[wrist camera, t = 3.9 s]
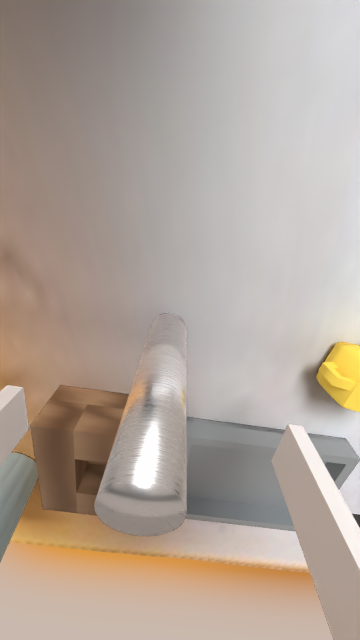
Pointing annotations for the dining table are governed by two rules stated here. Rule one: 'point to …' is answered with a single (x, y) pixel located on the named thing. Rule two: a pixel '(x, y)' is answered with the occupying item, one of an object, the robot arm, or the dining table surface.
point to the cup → (14, 493)
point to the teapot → (342, 375)
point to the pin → (151, 440)
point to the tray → (248, 472)
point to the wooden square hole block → (75, 446)
